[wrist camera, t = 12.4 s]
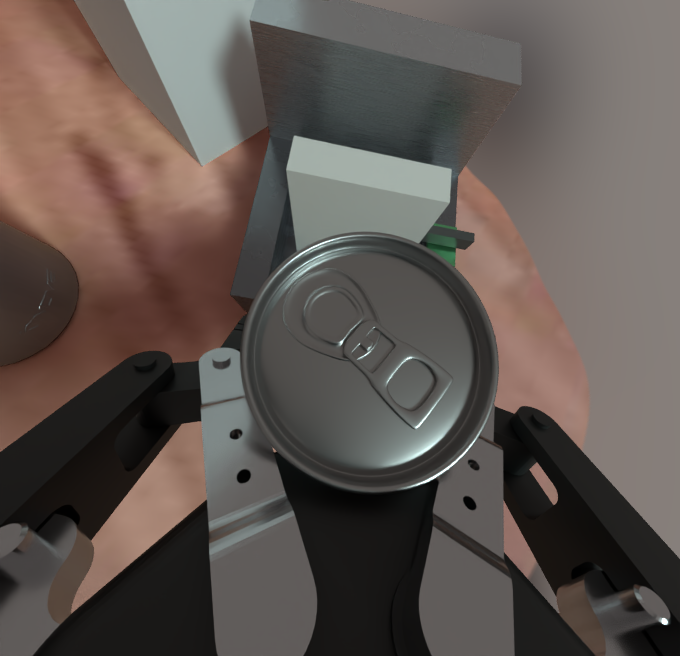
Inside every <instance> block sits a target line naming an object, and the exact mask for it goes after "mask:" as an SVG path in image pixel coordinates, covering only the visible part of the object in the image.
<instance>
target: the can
mask: <svg viewBox="0 0 680 656" xmlns="http://www.w3.org/2000/svg"><path fill="white" fill-rule="evenodd" d="M240 370H241V378H242V384H243V389H244V393H245V396H246V400H247V403H248V405H249V408H250V411H251V413H252V415H253V417H254V419H255V421H256V423H257V425H258V427H259V428H260V430H261V432H262V433H263V435H264V436H265V438H266V439H267V440H268V442H269V443H270V444H271V445H272V447H273V448H274V449H275V450H276V451H277V452H278V453H279V454H280V455H281V456H282V457H283V458H284V459H285V460H286V461H287V462H288V463H289V464H291V465H292V466H293V467H294V468H296V469H297V470H299V471H300V472H302V473H303V474H305V475H306V476H308V477H310V478H311V479H313V480H315V481H317V482H319V483H322V484H324V485H326V486H329V487H332V488H335V489H338V490H342V491H346V492H351V493H357V494H369V495H379V494H391V493H397V492H402V491H406V490H410V489H413V488H416V487H418V486H421V485H423V484H426V483H428V482H430V481H432V480H434V479H435V478H437V477H439V476H440V475H442V474H443V473H445V472H446V471H448V470H449V469H450V468H452V467H453V466H454V465H455V464H456V463H458V462H459V461H460V460H461V459H462V458H463V457H464V456H465V455H466V453H467V452H468V451H469V450H470V449H471V447H472V446H473V445H474V444H475V442H476V441H477V439H478V438H479V436H480V434H481V433H482V431H483V429H484V427H485V425H486V423H487V421H488V419H489V416H490V414H491V411H492V408H493V405H494V401H495V397H496V392H497V385H498V374H499V361H498V351H497V344H496V339H495V335H494V331H493V328H492V325H491V322H490V319H489V317H488V314H487V312H486V310H485V308H484V306H483V304H482V302H481V300H480V298H479V297H478V295H477V294H476V292H475V291H474V289H473V288H472V286H471V285H470V284H469V282H468V281H467V280H466V279H465V278H464V277H463V275H462V274H461V273H460V272H459V271H458V270H457V269H456V268H455V267H454V266H452V265H451V264H450V263H449V262H448V261H446V260H445V259H444V258H442V257H441V256H440V255H438V254H437V253H435V252H434V251H432V250H430V249H429V248H427V247H425V246H423V245H421V244H419V243H416V242H414V241H412V240H409V239H406V238H403V237H400V236H396V235H392V234H387V233H380V232H350V233H343V234H338V235H334V236H330V237H327V238H324V239H321V240H318V241H316V242H313V243H311V244H309V245H307V246H305V247H304V248H302V249H300V250H298V251H297V252H295V253H294V254H293V255H291V256H290V257H288V258H287V259H286V260H285V261H284V262H282V263H281V264H280V265H279V266H278V267H277V268H276V269H275V270H274V271H273V272H272V273H271V275H270V276H269V277H268V278H267V280H266V281H265V282H264V284H263V285H262V287H261V288H260V290H259V291H258V293H257V295H256V296H255V298H254V300H253V302H252V304H251V307H250V309H249V312H248V314H247V317H246V321H245V324H244V328H243V333H242V338H241V347H240Z"/></svg>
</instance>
